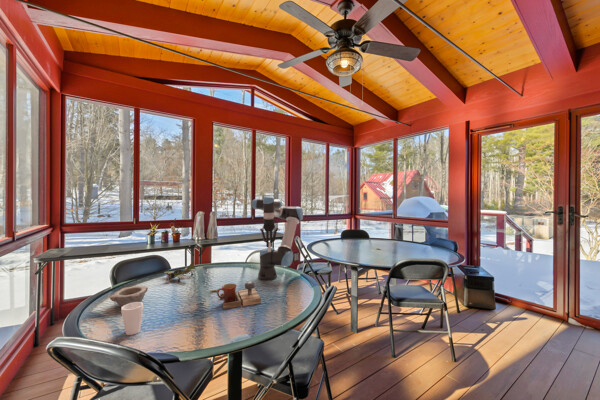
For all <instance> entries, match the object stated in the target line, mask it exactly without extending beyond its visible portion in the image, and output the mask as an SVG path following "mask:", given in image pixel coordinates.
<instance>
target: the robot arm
mask: <svg viewBox="0 0 600 400" xmlns="http://www.w3.org/2000/svg"><path fill="white" fill-rule="evenodd" d="M282 205H283V203H282V201H281V199H279V198H274V196H264V197H263V198H256V199H253V200H252V201H251V208H253V210H260V211H263V213H262V214H263V225H262V228H260V229H259V231H260V232H261V236H262V239H263V242H265V243H266V248H261V250H260V251H259V270H258V273H257V279H259V280H262V281H270V280H274V279H277V277H278V274H277V270H276V267H275V266H280V267H290V266H291V265H292V263H293V261H294V252H293V250H292V246H293V242H294V237H295V235H296V229H297V225H298V224H300V221H303V218H304V212H303V208H302V207H301V206H298V205H297V206H282ZM274 218H279V219H281V220H285V221H286V226H285V227H284V228H285V229H284V233H283V236H282V239H281V244H280V246H278V247H277V250H275V248H274V247H273V242H275V240H276V237H277V232H278V231H279V228H278V227H276V225H275V219H274ZM273 230H274V231H273ZM264 231H265V232H264Z"/></svg>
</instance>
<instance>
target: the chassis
mask: <svg viewBox="0 0 600 400" xmlns="http://www.w3.org/2000/svg"><path fill="white" fill-rule="evenodd" d="M235 293H236V300H235V302H228V303H224V302H223V303H222V308H223V310H225V309H232V308H237V307H238V308H239V307H242V306H243V307H245V306H250V305H251V306H253V305H257V304H261V303H262V300H261V299H262V298H261V296H260V295H259V293H258V292H257V290H256V289H255V288H253V289H242V290H238V291H237V290H235ZM219 296H223V293H219ZM219 299H221V300H223V299H222V298H219Z"/></svg>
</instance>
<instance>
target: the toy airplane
mask: <svg viewBox="0 0 600 400" xmlns="http://www.w3.org/2000/svg"><path fill="white" fill-rule="evenodd" d="M196 271H197V269H196V267H195V264H193V263H190V264H189V265H188V267H185V268H184V269H182V268H179V269H175V270H174V271H164V272H163V273H164V274H166V275H167V276H166V281H172V279H175V278H178V280H177V283H180V282H181V279H183V280H189V279H190V276H188V274H190V275H191V276H194V273H193V272H196Z"/></svg>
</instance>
